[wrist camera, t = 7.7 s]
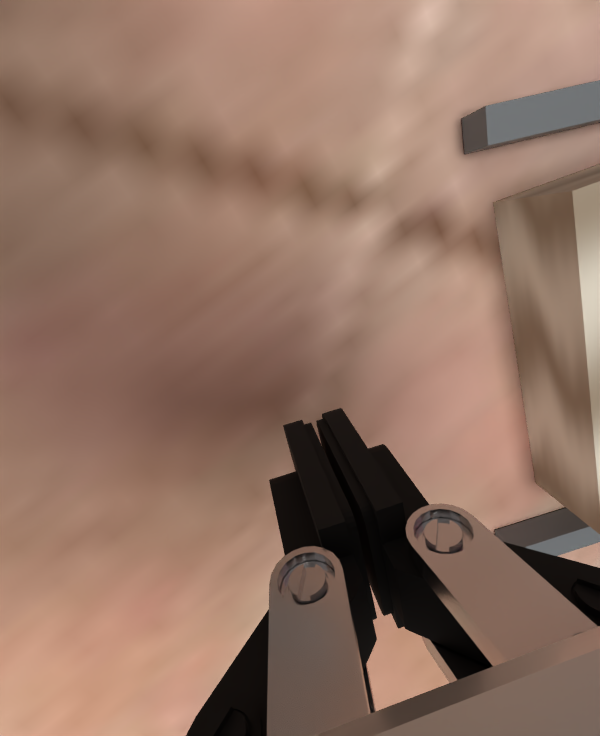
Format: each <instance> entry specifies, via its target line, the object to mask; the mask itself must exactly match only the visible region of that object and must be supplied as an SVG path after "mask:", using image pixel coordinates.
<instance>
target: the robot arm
mask: <svg viewBox="0 0 600 736" xmlns="http://www.w3.org/2000/svg"><path fill="white" fill-rule="evenodd" d="M322 418H323V419H321V420H318V421H316V422H317V427H318V431H319V436H320V440H321V443H320V441H319V439H318V437H317V435H316V432H315V430H314V428H313V426H312V424H311V423H308V424H304V423H303V421H302V420H300V421H296V422H293V423H290V424H286V425H283V427H284V431H285V434H286V438H287V442H288V445H289V449H290V452H291V456H292V460H293V463H294V467H295V470H296V472H293V473H290V474H286V475H283V476H280V477H277V478H274V479H270V480H269V481H270V487H271V491H272V496H273V501H274V506H275V510H276V515H277V520H278V525H279V529H280V534H281V539H282V544H283V548H284V553H285V556H284V557H283V558H282V559H281V560H280V561H279V562H278V563H277V564H276V566H275V568H274V570H273V572H272V574H271V579H270V584H269V610H268V611H267V613H266V614H265V616H264V617H263V619H262V620H261V622H260V623H259V625H258V626H257V627H256V629H255V630H254V632H253V633H252V635H251V636H250V638H249V639H248V641H247V642H246V644H245V645H244V647H243V648H242V650H241V651H240V653H239V654H238V656H237V657H236V658H235V660H234V661H233V663H232V664H231V666H230V667H229V669H228V670H227V672H226V673H225V675H224V676H223V678H222V679H221V681H220V682H219V684H218V685H217V687H216V688H215V689H214V691H213V692H212V694H211V695H210V697H209V698H208V700H207V701H206V703H205V704H204V706H203V707H202V709H201V710H200V712H199V713H198V715H197V716H196V718H195V720H194V721H193V723H192V725H191V727H190V729H189V731H188V733H187V735H186V736H600V568H598V567H594V566H590V565H587V564H583V563H579V562H576V561H572V560H568V559H565V558H561V557H558V556H554V555H550V554H547V553H543V552H539V551H536V550H532V549H528V548H525V547H521V546H517V545H514V544H510V543H507V542H503V541H501V540H500V539H499V538H498V537H496V536H495V535H494V534H493V533H492V532H491V531H490V530H488V529H487V528H486V527H485V526H484V525H483V524H482V523H481V522H479V521H478V520H477V519H476V518H475V517H474V516H473V515H471V514H470V513H468V512H467V511H465V510H464V509H462V508H459V507H456V506H453V505H448V504H431V505H429V504H428V502H427V501H426V500H425V498H424V497H423V496H422V494H421V493H420V491H419V490H418V489H417V487H416V486H415V485H414V483H413V482H412V481H411V479H410V478H409V477H408V475H407V474H406V472H405V471H404V470H403V468H402V467H401V466H400V464H399V463H398V462H397V460H396V459H395V458H394V456H393V455H392V453H391V452H390V451H389V449H388V448H387V447H386V446H385V445H383V444H382V445H379V446H375V447H372V448H369V449H368V448H367V447H366V445H365V443H364V442H363V440H362V439H361V437H360V436H359V434H358V433H357V431H356V430H355V428H354V427H353V425H352V424H351V422H350V420H349V419H348V417H347V416H346V414H345V413H344V411H343V410H342V409H341V408H339V409H336V410H333V411H329V412H326V413H323V414H322ZM321 444H322V445H321ZM369 583H370V584H369ZM370 586H371V588H372V590H373V593H374V595H375V598H376V600H377V602H378V605H379V607H380V609H381V612H382V614H383V615H384V616H385V615H388V614H390V613H392V616H393V618H394V620H395V622H396V625H397V627H398V628H401V627H405V629H407V630H409V631H411V632H414V633H416V634H418V635H420V636H422V639H423V641H424V643H425V646H426V648H427V650H428V651H429V653H430V654H431V656H432V657H433V659H434V660H435V662H436V663H437V665H438V666H439V668H440V669H441V671H442V672H443V674H444V675H445V677H446V678H447V680H448V681H449V684H446V685H444V686H441V687H439V688H436V689H433V690H431V691H428V692H426V693H423V694H420V695H418V696H415V697H413V698H410V699H407V700H405V701H402V702H400V703H397V704H394V705H392V706H389V707H387V708H384V709H381V710H379V711H376V708H375V703H374V698H373V693H372V687H371V682H370V677H369V672H368V668H367V664H366V663H367V661H368V659H369V656H370V654H371V652H372V649H373V647H374V645H375V642H376V640H377V638H376V633H375V629H374V624H373V620H374V619H377V616H376V611H375V607H374V602H373V598H372V593H371V588H370Z"/></svg>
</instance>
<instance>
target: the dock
mask: <svg viewBox="0 0 600 736" xmlns="http://www.w3.org/2000/svg"><path fill="white" fill-rule="evenodd" d="M596 123H600V80H599V81H594V82H590V83H585V84H581V85H576V86H572V87H568V88H563V89H559V90H554V91H550V92H545V93H541V94H537V95H532V96H528V97H523V98H519V99H514V100H510V101H505V102H501V103H497V104H492V105H488V106H485V107H483V108H481V109H479V110H477V111H475V112H473V113H471V114H470V115H468V116H466V117H464V118H462V130H463V143H464V154H468V153H472V152H477V151H481V150H485V149H489V148H494V147H498V146H502V145H506V144H511V143H515V142H519V141H523V140H528V139H532V138H536V137H540V136H545V135H549V134H553V133H558V132H562V131H566V130H570V129H575V128H579V127H583V126H587V125H592V124H596ZM495 536H496V537H498V538H499V539H500V540H501V541H503V542H507V543H510V544H514V545H517V546H521V547H525V548H528V549H532V550H536V551H539V552H543V553H547V554H550V555H554V556H558V555H561V554H564V553H567V552H570V551H573V550H576V549H579V548H583V547H586V546H589V545H592V544H595V543H598V542H600V534H598V533H597V532H596V531H595V530H593V529H592V528H591V527H590V526H588V525H587V524H586V523H585V522H584V521H582V520H581V519H580V518H579V517H577V516H576V515H575V514H574V513H572V512H571V511H570V510H569V509H567V508H564V509H560V510H557V511H554V512H551V513H548V514H544V515H541V516H538V517H535V518H532V519H529V520H525V521H522V522H519V523H516V524H513V525H509V526H506V527H503V528H500V529H497V530H495Z"/></svg>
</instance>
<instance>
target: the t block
mask: <svg viewBox="0 0 600 736" xmlns="http://www.w3.org/2000/svg"><path fill="white" fill-rule="evenodd" d="M493 206H494V213H495V220H496V226H497V233H498V239H499V246H500V252H501V259H502V266H503V272H504V279H505V285H506V292H507V298H508V305H509V312H510V318H511V325H512V331H513V338H514V344H515V351H516V358H517V364H518V371H519V377H520V384H521V390H522V397H523V404H524V410H525V417H526V423H527V430H528V436H529V443H530V449H531V456H532V463H533V469H534V476H535V482H536V484H537V485H539V486H540V487H541V488H542V489H544V490H545V491H546V492H547V493H549V494H550V495H551V496H552V497H554V498H555V499H556V500H557V501H559V502H560V503H561V504H562V505H564V506H565V507H566V508H567V509H569V510H570V511H571V512H572V513H574V514H575V515H576V516H577V517H579V518H580V519H581V520H582V521H584V522H585V523H586V524H587V525H588V526H590V527H591V528H592V529H593V530H595V531H596V532H597V533H598V534H600V164H598V165H595V166H593V167H590V168H587V169H584V170H582V171H579V172H576V173H573V174H571V175H568V176H565V177H562V178H559V179H557V180H554V181H551V182H548V183H546V184H543V185H540V186H537V187H534V188H532V189H529V190H526V191H523V192H521V193H518V194H515V195H512V196H509V197H507V198H504V199H501V200H498V201H496V202H493Z"/></svg>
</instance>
